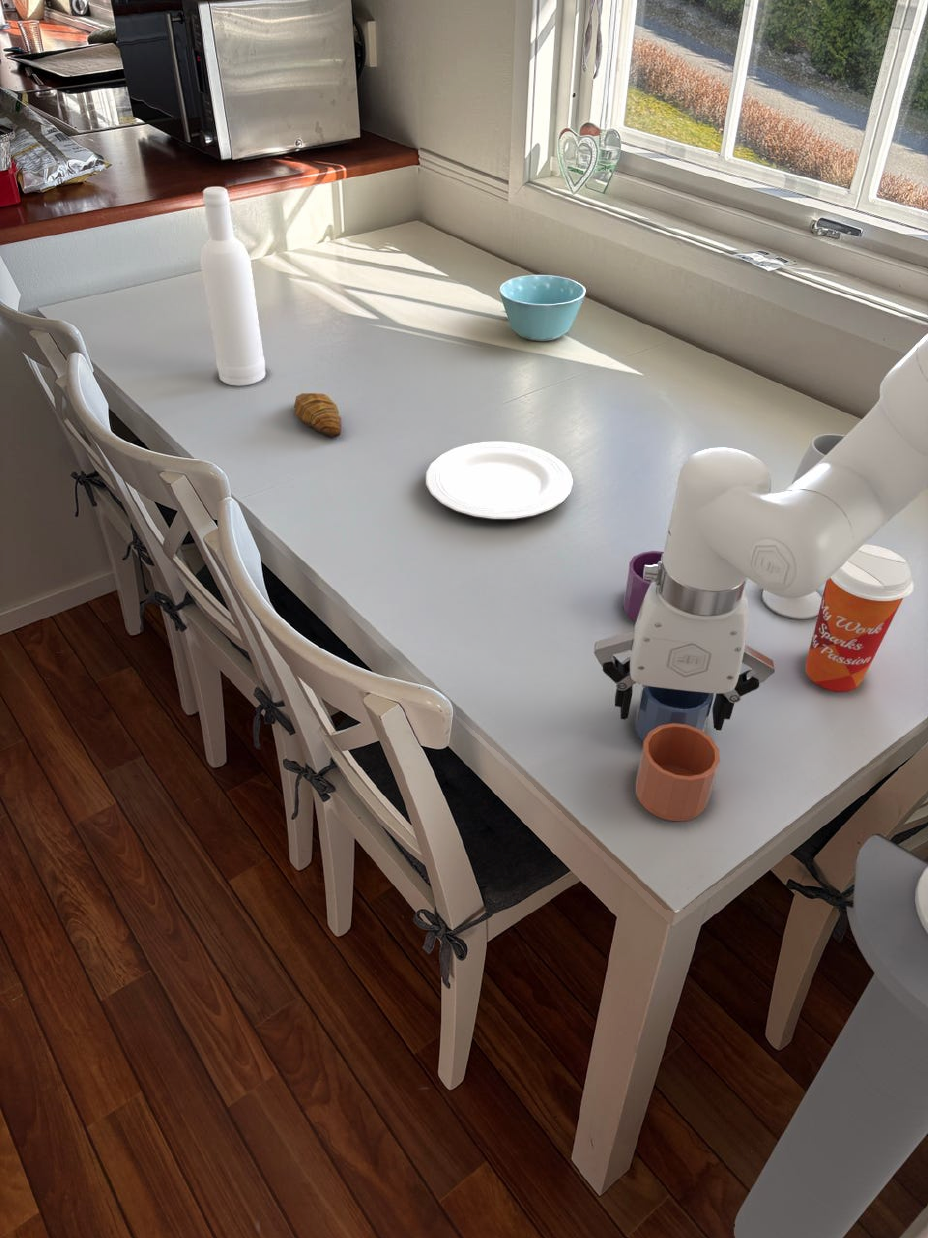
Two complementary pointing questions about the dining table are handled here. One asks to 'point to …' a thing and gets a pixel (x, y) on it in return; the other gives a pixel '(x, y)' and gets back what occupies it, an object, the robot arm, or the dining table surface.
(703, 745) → the terracotta cup
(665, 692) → the blue faceted cup
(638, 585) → the plum cup
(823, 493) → the robot arm
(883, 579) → the coffee cup
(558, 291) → the bowl
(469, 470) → the plate
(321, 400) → the croissant
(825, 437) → the wineglass
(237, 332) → the bottle
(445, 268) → the dining table surface
